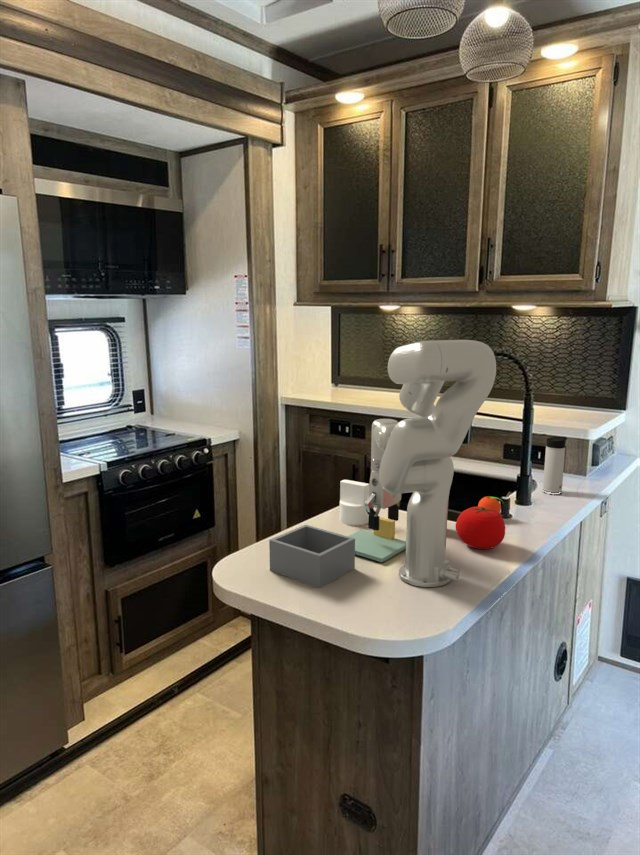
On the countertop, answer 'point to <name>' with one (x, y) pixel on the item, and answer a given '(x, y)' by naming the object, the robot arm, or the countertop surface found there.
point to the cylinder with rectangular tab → (353, 502)
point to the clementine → (490, 503)
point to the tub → (312, 555)
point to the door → (378, 542)
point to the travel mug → (554, 464)
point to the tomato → (480, 527)
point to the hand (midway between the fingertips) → (383, 524)
